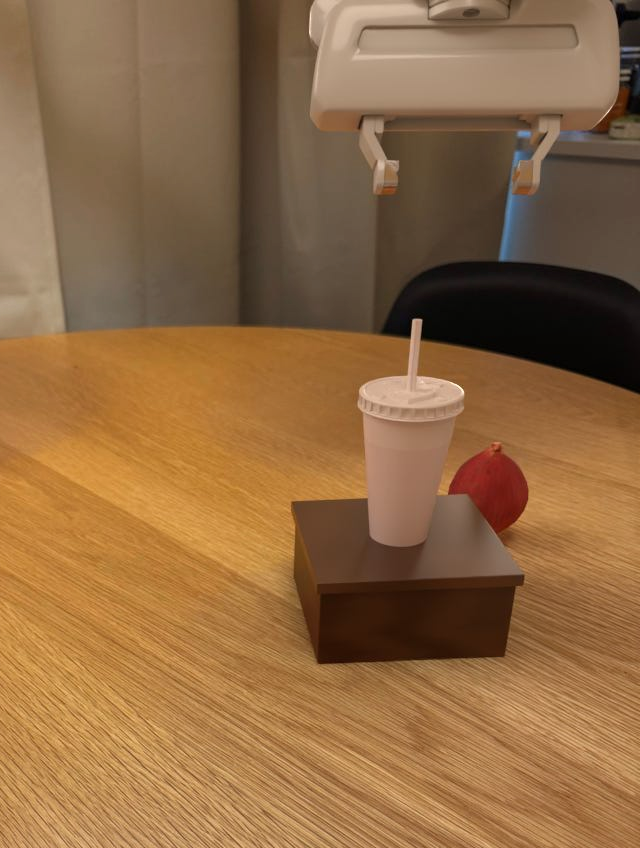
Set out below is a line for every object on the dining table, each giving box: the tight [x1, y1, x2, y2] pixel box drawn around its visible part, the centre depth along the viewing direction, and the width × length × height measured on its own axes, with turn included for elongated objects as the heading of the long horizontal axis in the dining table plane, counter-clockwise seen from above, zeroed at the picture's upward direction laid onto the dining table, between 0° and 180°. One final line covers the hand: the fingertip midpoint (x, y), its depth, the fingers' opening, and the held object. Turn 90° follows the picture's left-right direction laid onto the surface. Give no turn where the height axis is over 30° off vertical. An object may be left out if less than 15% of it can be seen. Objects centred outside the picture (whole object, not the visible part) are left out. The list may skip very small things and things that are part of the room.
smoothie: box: [357, 318, 466, 547], centre depth 63 cm, size 6×6×14 cm
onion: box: [447, 441, 530, 535], centre depth 77 cm, size 6×6×8 cm
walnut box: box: [290, 494, 526, 664], centre depth 68 cm, size 13×13×6 cm
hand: (454, 192), depth 69 cm, fingers open, 8 cm apart
